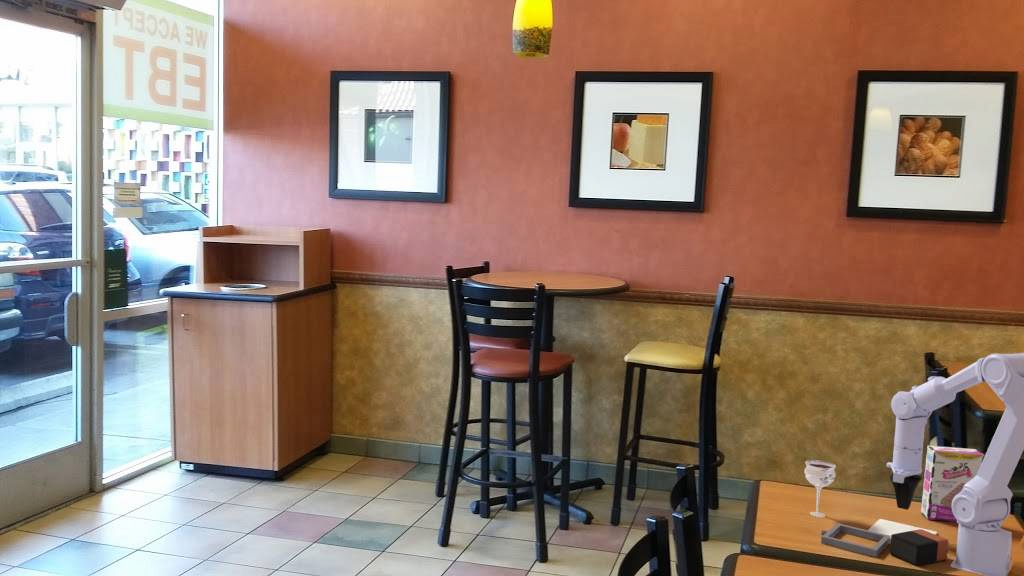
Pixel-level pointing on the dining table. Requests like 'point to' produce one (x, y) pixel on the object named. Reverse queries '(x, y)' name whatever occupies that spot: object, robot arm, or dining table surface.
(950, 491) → the candy bar box
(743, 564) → the dining table surface
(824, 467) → the wineglass
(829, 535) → the frame
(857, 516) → the dining table surface
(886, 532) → the mat
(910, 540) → the battery
